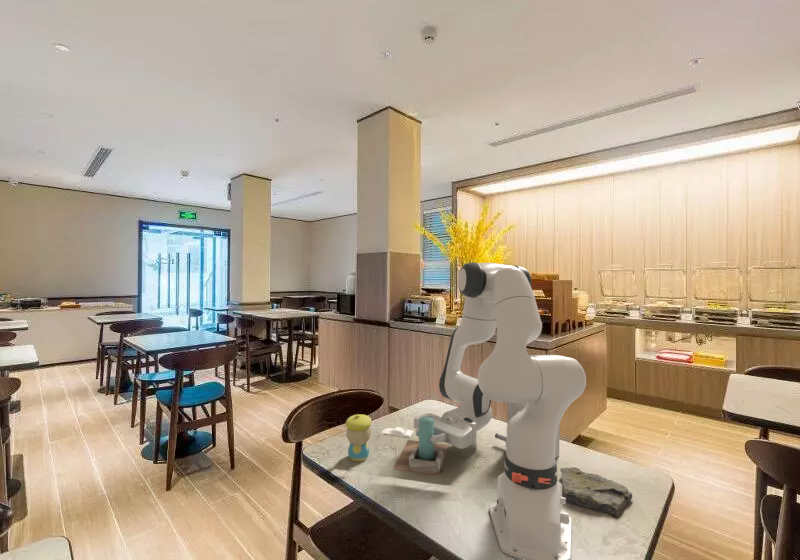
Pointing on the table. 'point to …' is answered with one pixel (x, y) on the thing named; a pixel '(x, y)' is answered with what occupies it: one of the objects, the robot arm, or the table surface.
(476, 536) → the table surface
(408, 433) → the toy car
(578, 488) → the stone
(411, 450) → the walnut board
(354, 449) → the toy
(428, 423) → the teal peg
